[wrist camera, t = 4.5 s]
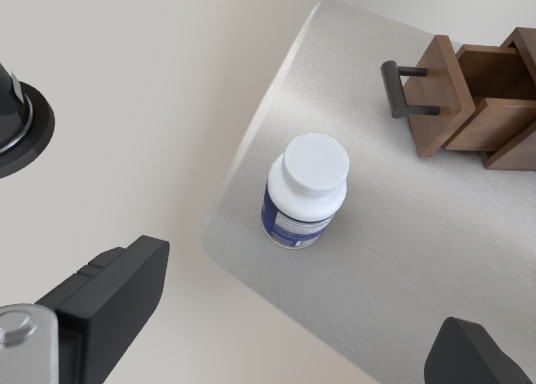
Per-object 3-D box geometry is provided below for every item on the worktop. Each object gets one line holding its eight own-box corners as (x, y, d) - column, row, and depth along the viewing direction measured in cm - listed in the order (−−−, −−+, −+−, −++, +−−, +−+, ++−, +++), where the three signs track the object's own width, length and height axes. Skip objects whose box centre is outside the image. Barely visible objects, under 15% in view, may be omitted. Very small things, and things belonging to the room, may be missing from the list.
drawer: (375, 155, 32) (410, 105, 26) (362, 87, 35) (389, 30, 29) (520, 160, 33) (585, 115, 27) (493, 95, 37) (544, 42, 31)
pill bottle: (269, 184, 30) (285, 112, 21) (328, 201, 30) (367, 135, 21) (252, 239, 28) (261, 183, 19) (315, 258, 27) (354, 210, 19)
